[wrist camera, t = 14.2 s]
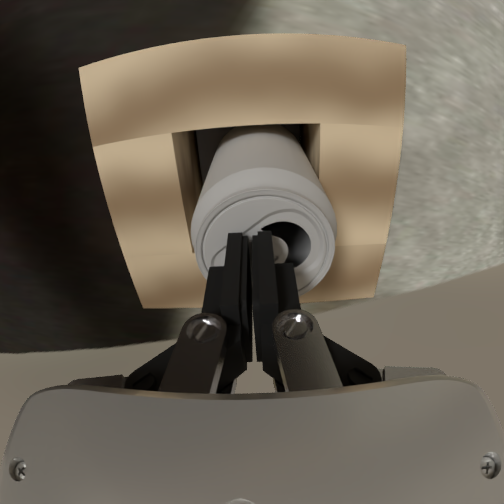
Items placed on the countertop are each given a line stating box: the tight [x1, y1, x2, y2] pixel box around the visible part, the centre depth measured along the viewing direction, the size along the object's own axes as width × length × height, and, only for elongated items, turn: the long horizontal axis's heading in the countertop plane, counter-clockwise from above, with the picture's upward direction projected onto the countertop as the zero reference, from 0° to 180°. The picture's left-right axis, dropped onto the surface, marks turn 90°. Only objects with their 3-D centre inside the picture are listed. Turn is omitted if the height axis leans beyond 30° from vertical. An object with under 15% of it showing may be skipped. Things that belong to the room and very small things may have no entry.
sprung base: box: [196, 123, 300, 185], centre depth 22 cm, size 7×7×1 cm
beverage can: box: [191, 124, 337, 297], centre depth 17 cm, size 6×6×12 cm
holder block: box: [79, 34, 406, 308], centre depth 20 cm, size 18×18×7 cm
